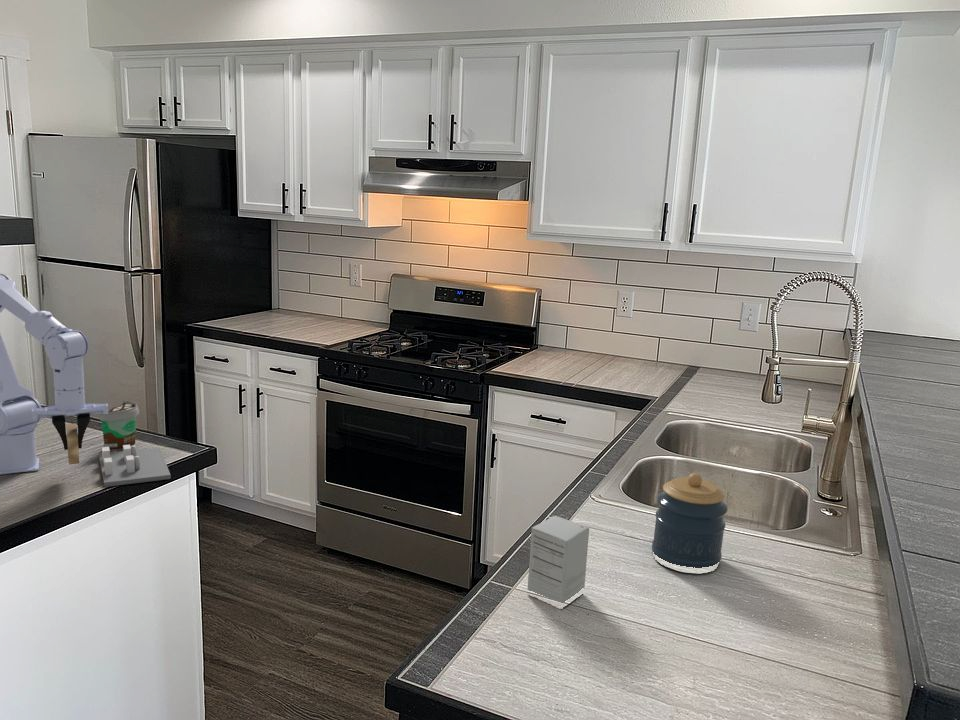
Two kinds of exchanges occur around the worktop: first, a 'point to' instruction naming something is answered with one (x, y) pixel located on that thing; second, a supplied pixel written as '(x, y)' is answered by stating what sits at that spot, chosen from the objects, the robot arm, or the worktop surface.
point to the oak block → (72, 443)
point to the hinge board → (132, 466)
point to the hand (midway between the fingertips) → (72, 447)
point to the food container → (120, 425)
